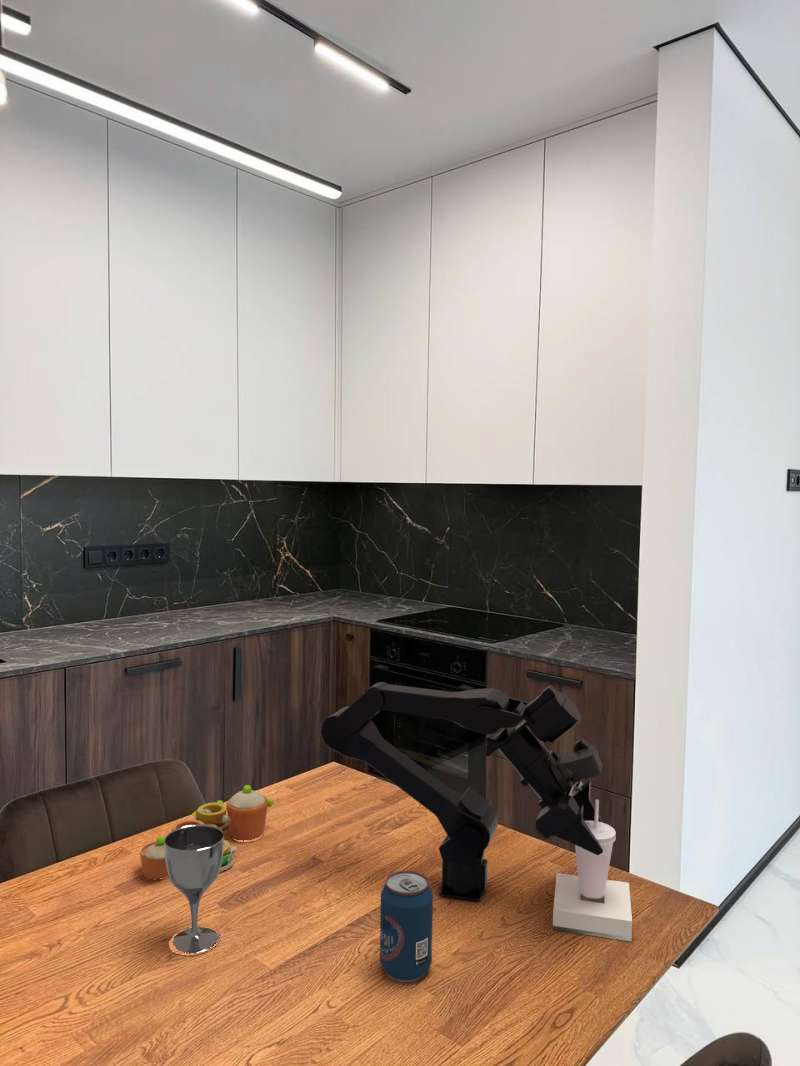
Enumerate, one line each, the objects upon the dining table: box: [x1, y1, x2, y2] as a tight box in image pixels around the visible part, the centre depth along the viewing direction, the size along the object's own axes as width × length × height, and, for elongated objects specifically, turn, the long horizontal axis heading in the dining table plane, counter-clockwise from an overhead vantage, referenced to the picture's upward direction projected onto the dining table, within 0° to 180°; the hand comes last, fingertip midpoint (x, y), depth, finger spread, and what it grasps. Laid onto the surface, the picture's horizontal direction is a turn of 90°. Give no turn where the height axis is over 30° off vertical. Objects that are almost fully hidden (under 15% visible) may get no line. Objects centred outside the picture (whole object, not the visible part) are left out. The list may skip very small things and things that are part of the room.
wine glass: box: [164, 824, 225, 954], centre depth 107 cm, size 8×8×15 cm
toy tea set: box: [139, 784, 274, 880], centre depth 134 cm, size 26×16×10 cm, turn 164°
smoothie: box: [574, 798, 617, 899], centre depth 115 cm, size 6×6×14 cm
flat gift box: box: [552, 872, 633, 943], centre depth 116 cm, size 11×11×3 cm
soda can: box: [379, 870, 434, 983], centre depth 102 cm, size 7×7×12 cm
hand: (603, 843), depth 115 cm, fingers open, 6 cm apart
